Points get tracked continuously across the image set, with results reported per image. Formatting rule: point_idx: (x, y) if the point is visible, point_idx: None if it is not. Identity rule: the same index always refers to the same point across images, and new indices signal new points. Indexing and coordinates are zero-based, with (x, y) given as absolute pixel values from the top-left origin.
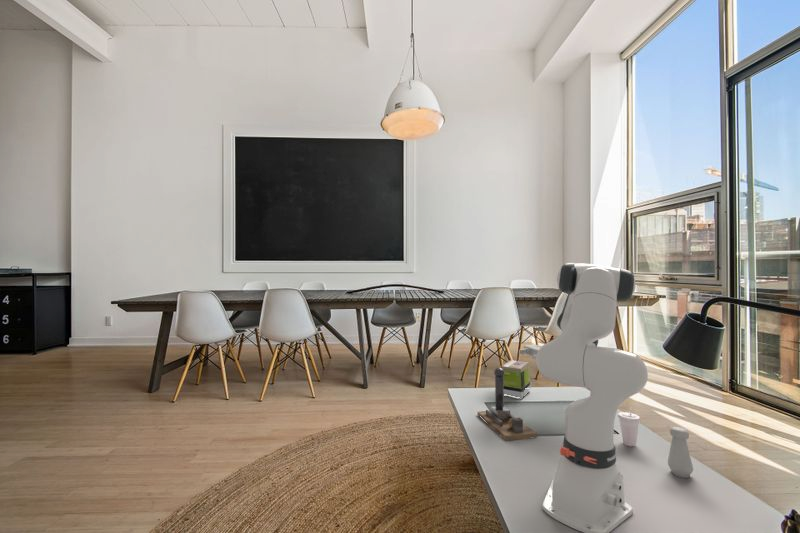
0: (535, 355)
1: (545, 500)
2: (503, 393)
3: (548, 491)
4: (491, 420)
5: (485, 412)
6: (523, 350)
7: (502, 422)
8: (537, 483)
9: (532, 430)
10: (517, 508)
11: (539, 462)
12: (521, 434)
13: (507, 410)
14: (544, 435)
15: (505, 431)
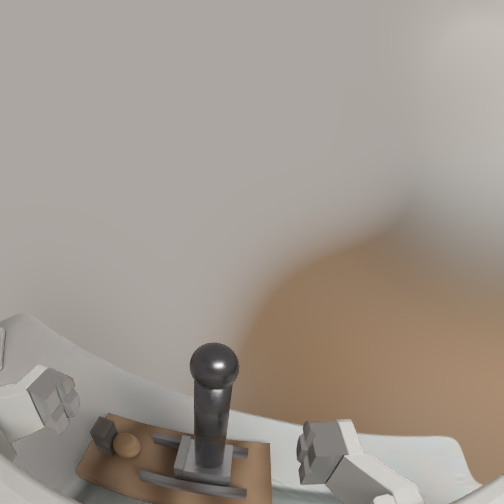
0: (36, 366)
1: (2, 333)
2: (196, 431)
3: (1, 343)
4: None
5: (259, 458)
6: (313, 444)
7: (153, 437)
8: (16, 357)
9: (91, 476)
10: (23, 324)
11: None
12: (92, 440)
13: (176, 459)
14: (74, 498)
15: (126, 428)
